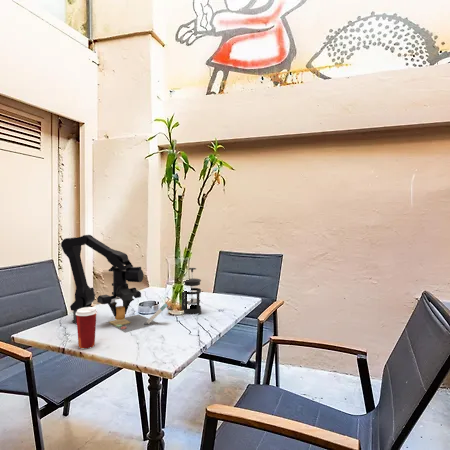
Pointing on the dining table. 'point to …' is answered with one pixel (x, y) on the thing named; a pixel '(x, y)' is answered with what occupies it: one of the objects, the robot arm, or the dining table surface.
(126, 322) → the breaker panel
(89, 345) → the paper cup
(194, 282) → the french press
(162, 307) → the lever
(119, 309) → the cap
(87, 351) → the dining table surface
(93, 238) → the robot arm
